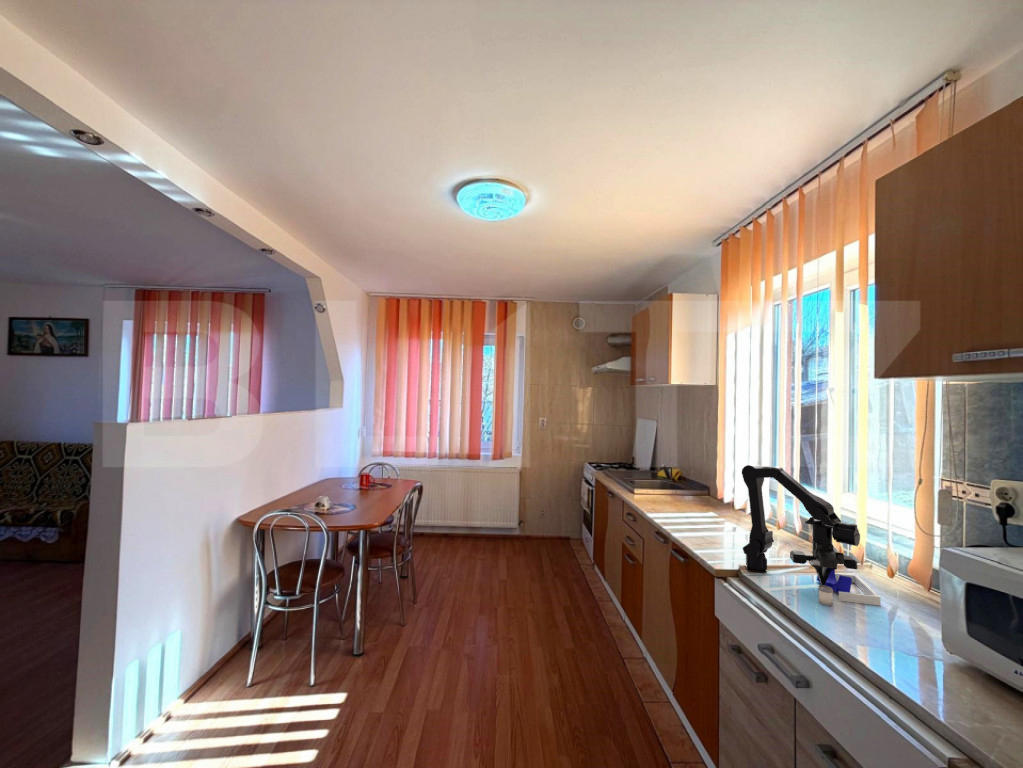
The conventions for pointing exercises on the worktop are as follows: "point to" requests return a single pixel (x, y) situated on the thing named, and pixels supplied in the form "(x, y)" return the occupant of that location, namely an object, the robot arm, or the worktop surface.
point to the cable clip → (838, 582)
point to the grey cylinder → (825, 595)
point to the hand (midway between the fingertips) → (822, 584)
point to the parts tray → (859, 598)
